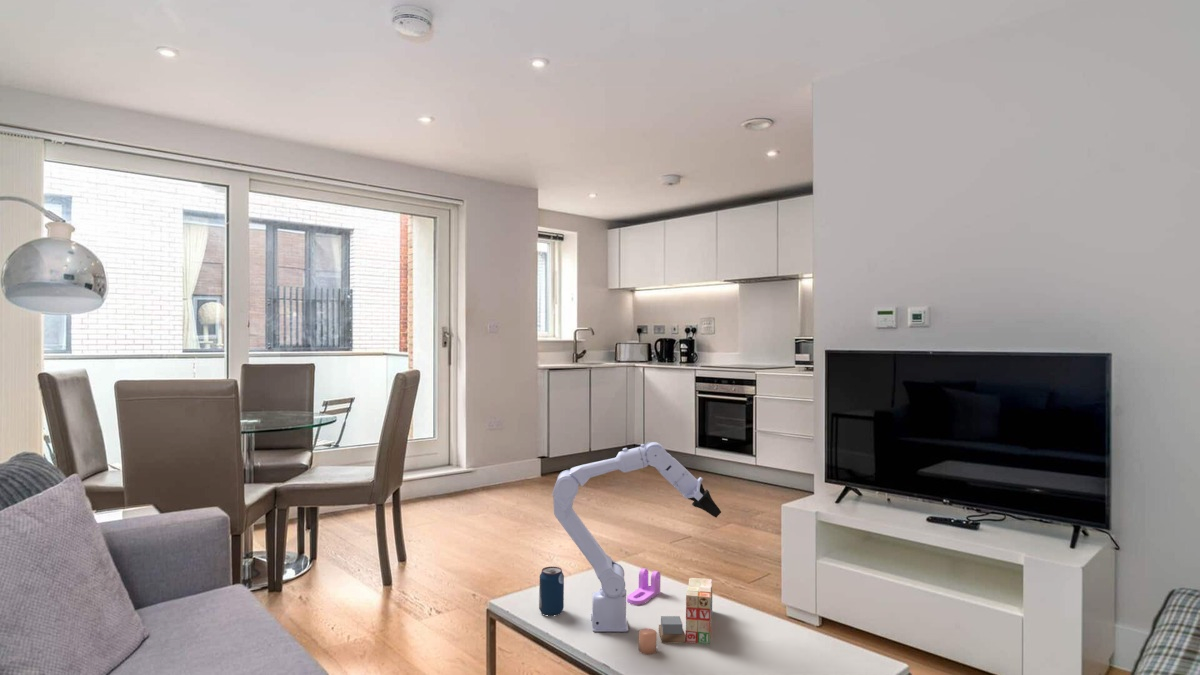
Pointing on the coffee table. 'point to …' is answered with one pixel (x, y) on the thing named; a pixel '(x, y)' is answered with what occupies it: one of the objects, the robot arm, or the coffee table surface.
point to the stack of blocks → (699, 610)
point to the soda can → (551, 591)
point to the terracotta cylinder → (647, 641)
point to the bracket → (645, 588)
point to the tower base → (671, 637)
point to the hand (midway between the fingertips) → (715, 511)
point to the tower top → (671, 625)
